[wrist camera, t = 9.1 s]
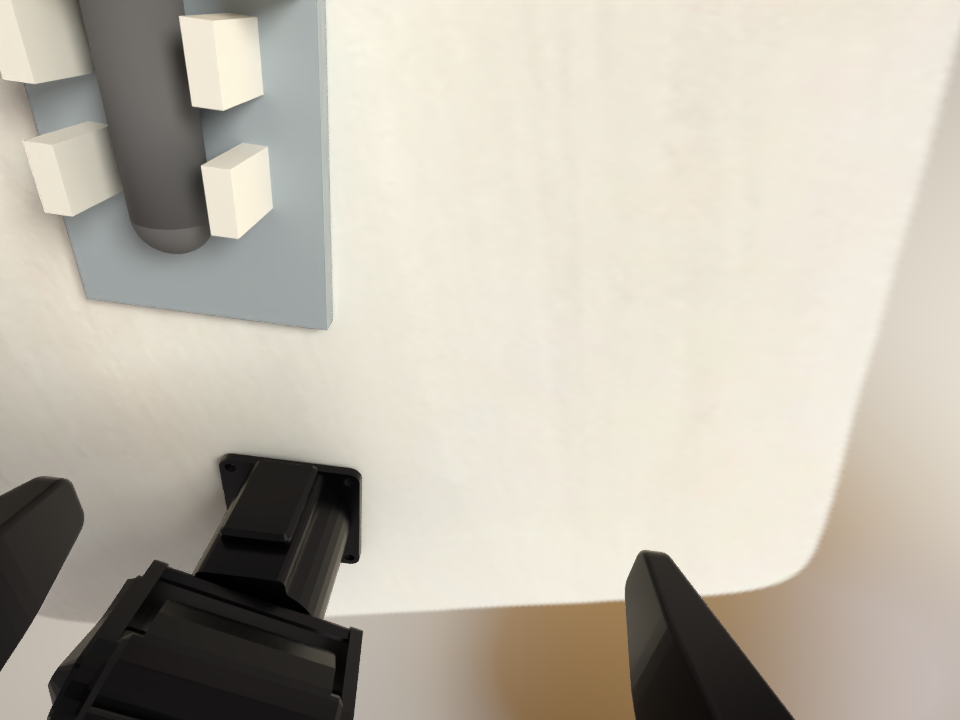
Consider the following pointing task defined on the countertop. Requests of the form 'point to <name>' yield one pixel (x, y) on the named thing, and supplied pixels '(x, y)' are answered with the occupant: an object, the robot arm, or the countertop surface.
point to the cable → (151, 118)
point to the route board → (226, 175)
